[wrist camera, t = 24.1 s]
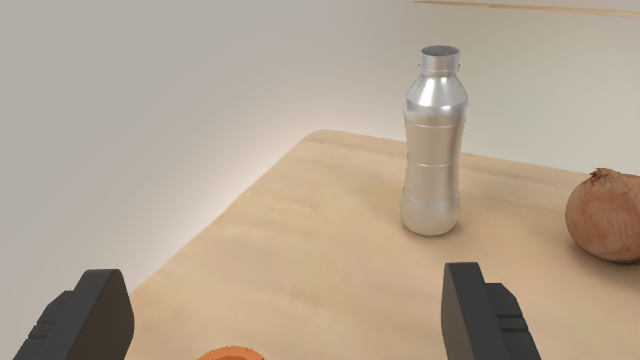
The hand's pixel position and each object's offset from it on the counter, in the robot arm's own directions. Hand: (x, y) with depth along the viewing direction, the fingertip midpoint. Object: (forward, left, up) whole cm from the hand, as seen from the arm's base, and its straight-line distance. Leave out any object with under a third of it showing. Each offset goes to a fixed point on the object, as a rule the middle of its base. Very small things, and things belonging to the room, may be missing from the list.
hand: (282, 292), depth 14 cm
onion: (-47, -1, -27) cm, 54 cm away
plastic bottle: (-40, -18, -27) cm, 51 cm away
